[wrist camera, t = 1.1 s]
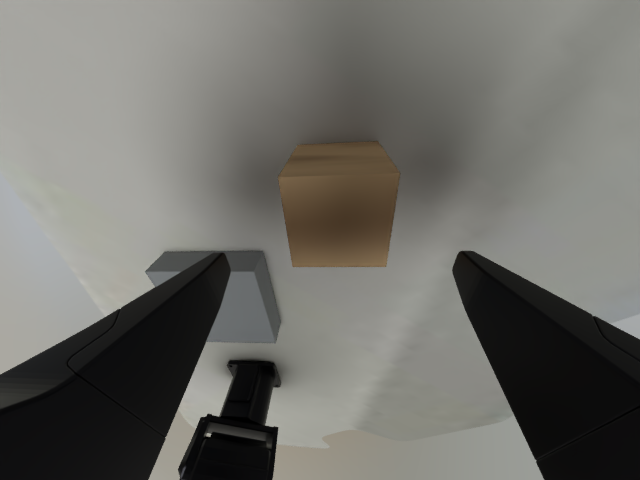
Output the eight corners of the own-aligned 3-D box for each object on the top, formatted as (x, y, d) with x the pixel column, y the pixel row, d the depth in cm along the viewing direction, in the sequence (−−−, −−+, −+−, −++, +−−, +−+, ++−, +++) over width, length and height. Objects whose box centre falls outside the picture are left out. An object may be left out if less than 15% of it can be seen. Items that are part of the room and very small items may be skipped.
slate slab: (281, 318, 26) (275, 343, 23) (205, 317, 26) (192, 341, 24) (264, 248, 20) (254, 271, 17) (167, 248, 21) (144, 271, 18)
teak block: (371, 212, 17) (386, 266, 12) (305, 214, 17) (292, 266, 12) (377, 140, 14) (400, 173, 9) (297, 144, 14) (277, 177, 9)
